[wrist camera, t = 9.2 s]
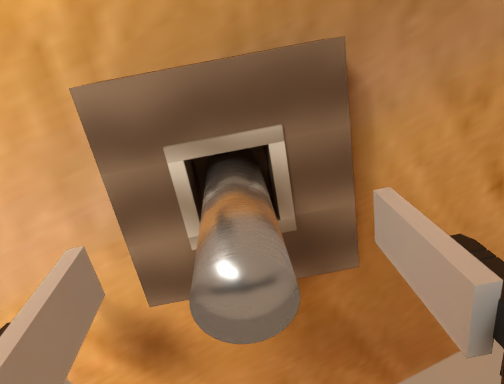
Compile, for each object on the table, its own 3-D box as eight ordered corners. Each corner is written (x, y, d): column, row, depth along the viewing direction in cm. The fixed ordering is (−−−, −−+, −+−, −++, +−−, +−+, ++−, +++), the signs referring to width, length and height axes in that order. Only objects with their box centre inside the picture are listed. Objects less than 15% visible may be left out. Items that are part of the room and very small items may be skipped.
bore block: (98, 81, 24) (66, 89, 19) (321, 39, 24) (346, 36, 19) (161, 268, 30) (148, 309, 25) (338, 234, 30) (360, 269, 25)
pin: (202, 150, 25) (176, 267, 12) (254, 140, 25) (292, 244, 12) (213, 198, 27) (203, 353, 13) (263, 189, 27) (305, 332, 13)
